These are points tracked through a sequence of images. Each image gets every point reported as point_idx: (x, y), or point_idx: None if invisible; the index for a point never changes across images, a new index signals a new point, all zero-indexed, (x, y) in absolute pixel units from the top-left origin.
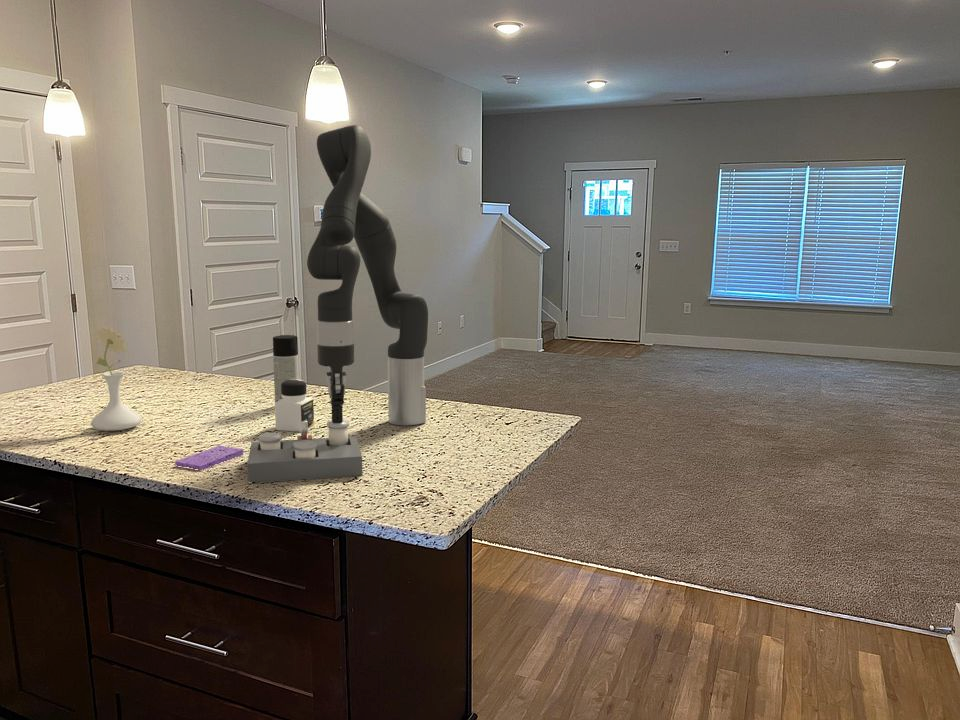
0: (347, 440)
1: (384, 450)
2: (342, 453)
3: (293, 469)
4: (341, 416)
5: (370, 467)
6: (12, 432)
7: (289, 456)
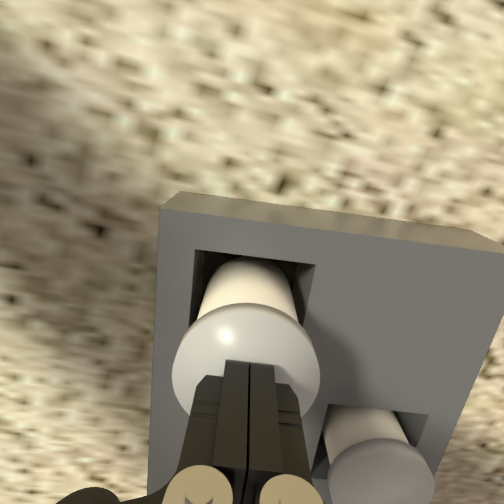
0: (271, 277)
1: (163, 41)
2: (432, 326)
3: None
4: (274, 398)
5: (389, 175)
6: None
7: None
